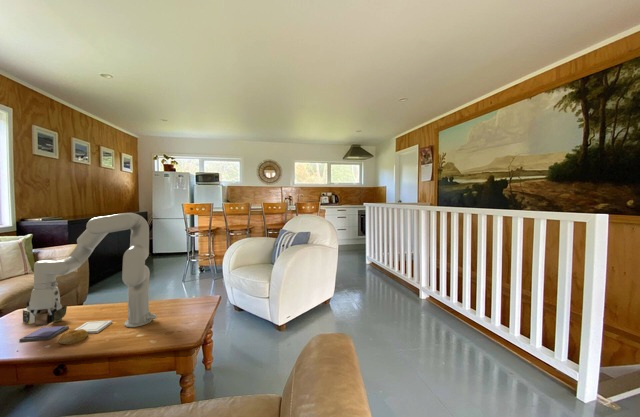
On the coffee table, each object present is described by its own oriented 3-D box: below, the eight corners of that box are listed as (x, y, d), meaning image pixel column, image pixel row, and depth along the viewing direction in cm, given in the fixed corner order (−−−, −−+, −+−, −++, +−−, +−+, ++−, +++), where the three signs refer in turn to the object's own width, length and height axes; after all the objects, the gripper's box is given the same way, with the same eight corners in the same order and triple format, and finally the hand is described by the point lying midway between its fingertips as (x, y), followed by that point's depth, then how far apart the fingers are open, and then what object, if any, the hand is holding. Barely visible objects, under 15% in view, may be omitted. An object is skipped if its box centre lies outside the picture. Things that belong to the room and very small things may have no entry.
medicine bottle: (22, 322, 145) (22, 300, 144) (40, 317, 151) (40, 296, 151) (29, 324, 142) (29, 302, 142) (47, 319, 148) (46, 297, 148)
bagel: (93, 333, 133) (93, 324, 132) (77, 345, 122) (77, 334, 122) (71, 335, 131) (71, 325, 131) (52, 347, 120) (52, 336, 120)
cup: (54, 325, 141) (54, 310, 141) (44, 323, 143) (44, 309, 143) (70, 319, 149) (70, 305, 149) (60, 318, 150) (60, 304, 150)
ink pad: (68, 328, 138) (68, 325, 138) (49, 339, 126) (49, 336, 126) (41, 329, 136) (41, 326, 136) (19, 341, 124) (19, 338, 124)
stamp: (53, 321, 133) (53, 306, 133) (46, 325, 129) (46, 310, 129) (43, 322, 133) (43, 307, 133) (35, 326, 128) (35, 310, 128)
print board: (112, 322, 145) (112, 320, 145) (97, 333, 133) (97, 330, 133) (87, 324, 143) (87, 321, 143) (70, 334, 131) (70, 332, 131)
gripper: (70, 282, 136) (70, 318, 136) (31, 283, 133) (31, 320, 133) (58, 287, 128) (58, 324, 128) (17, 288, 126) (17, 327, 126)
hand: (44, 322), depth 131 cm, fingers closed on stamp, 4 cm apart
